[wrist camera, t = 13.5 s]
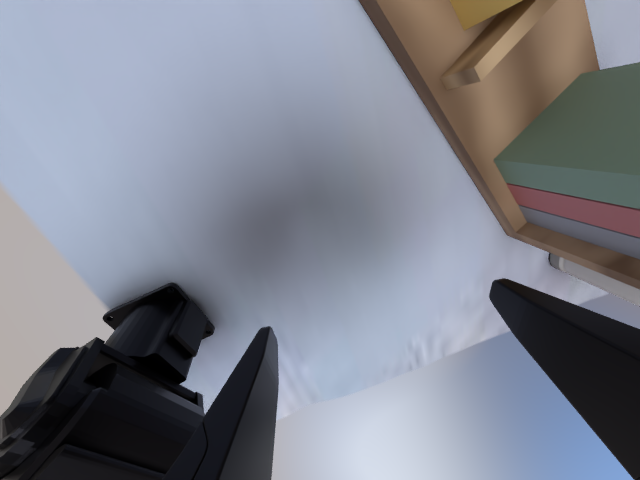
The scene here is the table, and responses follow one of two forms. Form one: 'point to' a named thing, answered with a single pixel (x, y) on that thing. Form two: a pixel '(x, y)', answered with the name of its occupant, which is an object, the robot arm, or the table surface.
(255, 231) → the table surface
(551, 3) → the shelf slot board
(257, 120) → the table surface
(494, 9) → the pale yellow cuboid
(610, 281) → the travel mug
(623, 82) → the book row
